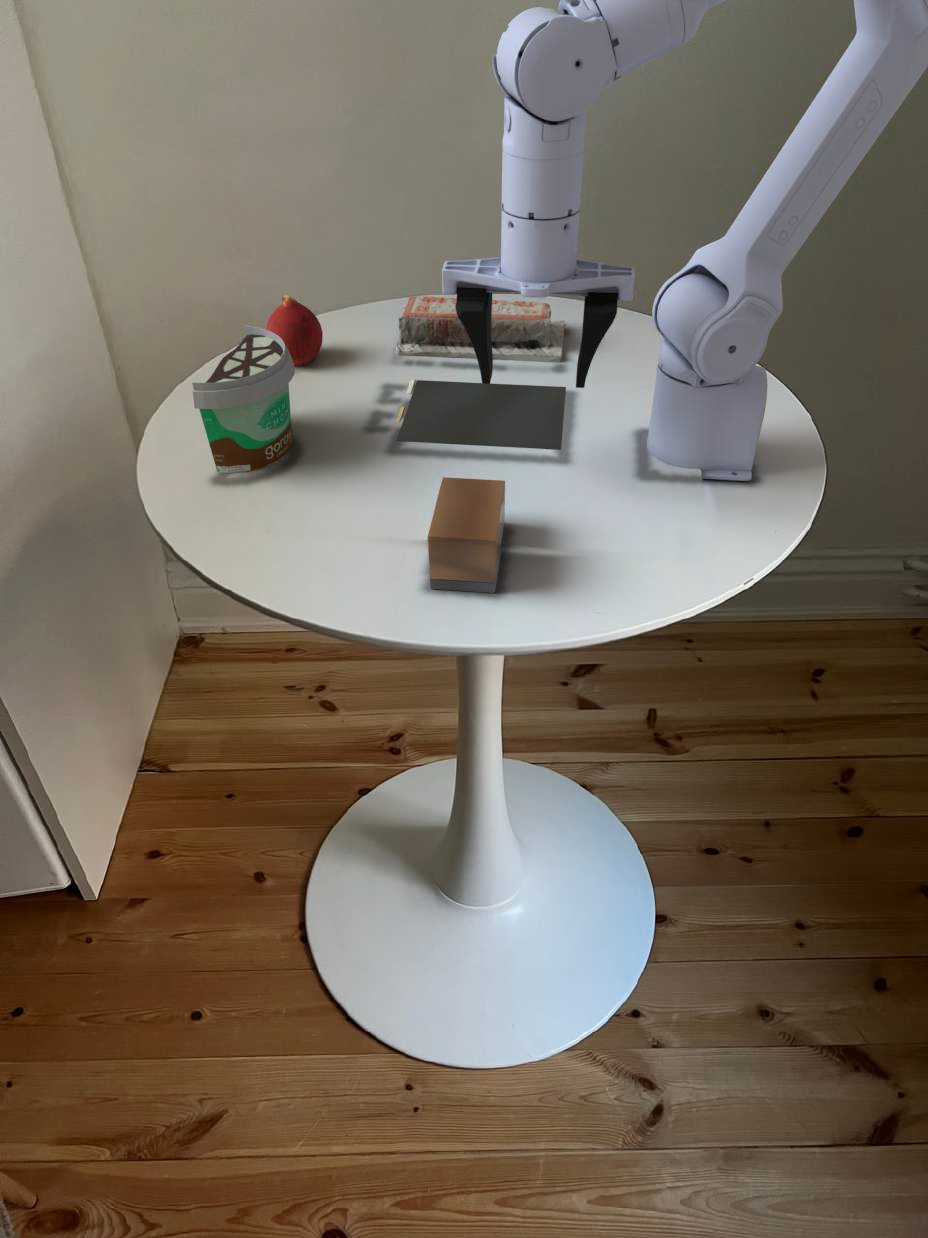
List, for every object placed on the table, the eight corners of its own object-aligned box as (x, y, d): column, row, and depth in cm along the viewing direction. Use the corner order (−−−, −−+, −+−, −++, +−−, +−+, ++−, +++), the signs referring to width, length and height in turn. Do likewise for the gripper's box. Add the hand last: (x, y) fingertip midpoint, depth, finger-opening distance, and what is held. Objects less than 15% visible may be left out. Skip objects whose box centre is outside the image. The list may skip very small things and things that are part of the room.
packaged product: (391, 320, 96) (406, 284, 103) (394, 363, 99) (408, 325, 107) (564, 326, 94) (567, 289, 102) (561, 370, 97) (564, 331, 105)
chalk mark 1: (405, 409, 90) (404, 405, 90) (400, 424, 88) (399, 421, 88) (376, 413, 91) (375, 410, 91) (371, 429, 89) (369, 425, 88)
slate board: (569, 393, 94) (569, 384, 93) (564, 461, 84) (565, 451, 83) (414, 386, 95) (413, 377, 94) (391, 452, 85) (391, 442, 85)
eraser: (504, 531, 76) (505, 480, 72) (495, 593, 70) (495, 540, 66) (444, 528, 76) (442, 476, 73) (430, 589, 70) (427, 536, 67)
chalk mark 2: (416, 382, 94) (415, 379, 94) (411, 396, 92) (410, 392, 92) (388, 387, 95) (387, 383, 95) (383, 401, 93) (382, 397, 93)
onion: (313, 351, 102) (303, 279, 96) (335, 371, 98) (326, 298, 93) (263, 364, 99) (251, 291, 94) (284, 385, 96) (273, 310, 90)
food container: (279, 497, 80) (261, 392, 73) (213, 489, 81) (189, 385, 74) (323, 426, 89) (311, 327, 82) (263, 421, 90) (246, 322, 83)
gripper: (434, 222, 64) (439, 398, 73) (643, 229, 63) (622, 407, 72) (447, 191, 70) (451, 359, 79) (640, 196, 68) (621, 367, 77)
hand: (533, 380), depth 76 cm, fingers open, 7 cm apart
